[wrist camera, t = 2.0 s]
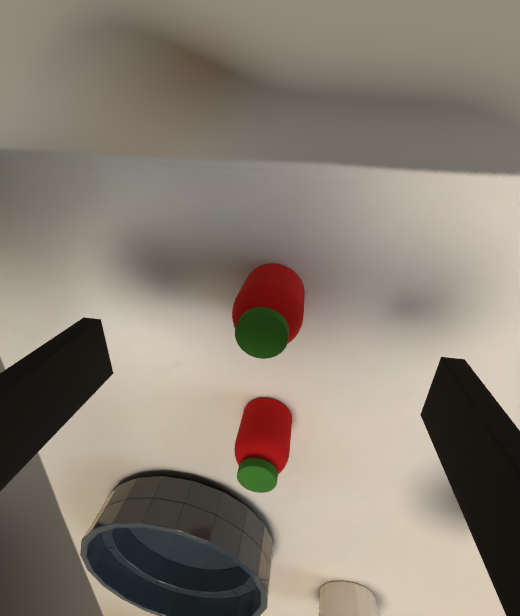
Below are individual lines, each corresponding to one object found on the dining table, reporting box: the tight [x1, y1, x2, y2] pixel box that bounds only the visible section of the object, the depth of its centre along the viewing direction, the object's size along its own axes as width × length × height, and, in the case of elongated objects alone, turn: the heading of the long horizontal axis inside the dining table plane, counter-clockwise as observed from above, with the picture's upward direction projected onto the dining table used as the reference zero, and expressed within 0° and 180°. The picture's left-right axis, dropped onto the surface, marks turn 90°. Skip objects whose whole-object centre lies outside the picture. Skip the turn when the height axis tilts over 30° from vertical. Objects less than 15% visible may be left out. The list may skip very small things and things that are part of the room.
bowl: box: [80, 476, 273, 616], centre depth 29 cm, size 17×17×4 cm
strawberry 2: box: [235, 398, 292, 492], centre depth 20 cm, size 4×4×5 cm
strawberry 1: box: [232, 264, 305, 358], centre depth 15 cm, size 4×4×5 cm
